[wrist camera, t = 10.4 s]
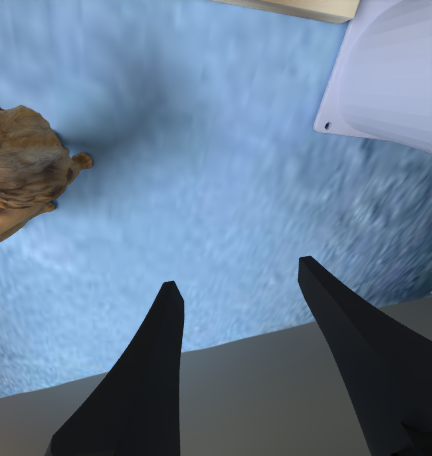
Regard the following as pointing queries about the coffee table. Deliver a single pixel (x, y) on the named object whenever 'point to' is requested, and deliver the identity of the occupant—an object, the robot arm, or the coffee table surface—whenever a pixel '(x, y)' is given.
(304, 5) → the shaft board
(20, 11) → the coffee table surface
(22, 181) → the lion figurine
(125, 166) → the coffee table surface
